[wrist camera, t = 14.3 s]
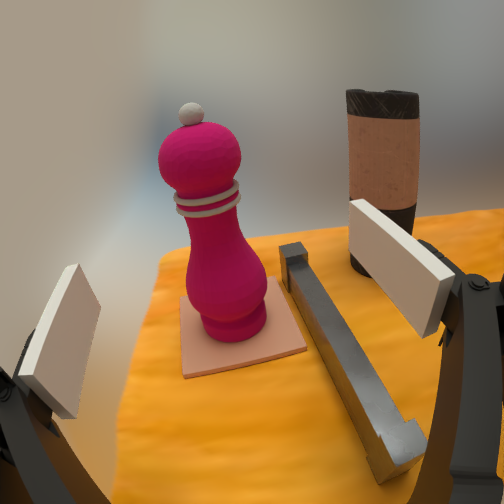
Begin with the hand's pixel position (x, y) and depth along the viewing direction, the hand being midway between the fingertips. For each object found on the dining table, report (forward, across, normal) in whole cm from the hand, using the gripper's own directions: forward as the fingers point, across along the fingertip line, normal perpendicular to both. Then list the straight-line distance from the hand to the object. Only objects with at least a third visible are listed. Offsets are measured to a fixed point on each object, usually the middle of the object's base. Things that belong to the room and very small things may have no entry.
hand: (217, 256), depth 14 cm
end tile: (+10, 0, -14) cm, 17 cm away
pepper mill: (+10, 0, -14) cm, 17 cm away
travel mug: (+14, +18, -14) cm, 27 cm away
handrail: (+3, +7, -14) cm, 16 cm away
